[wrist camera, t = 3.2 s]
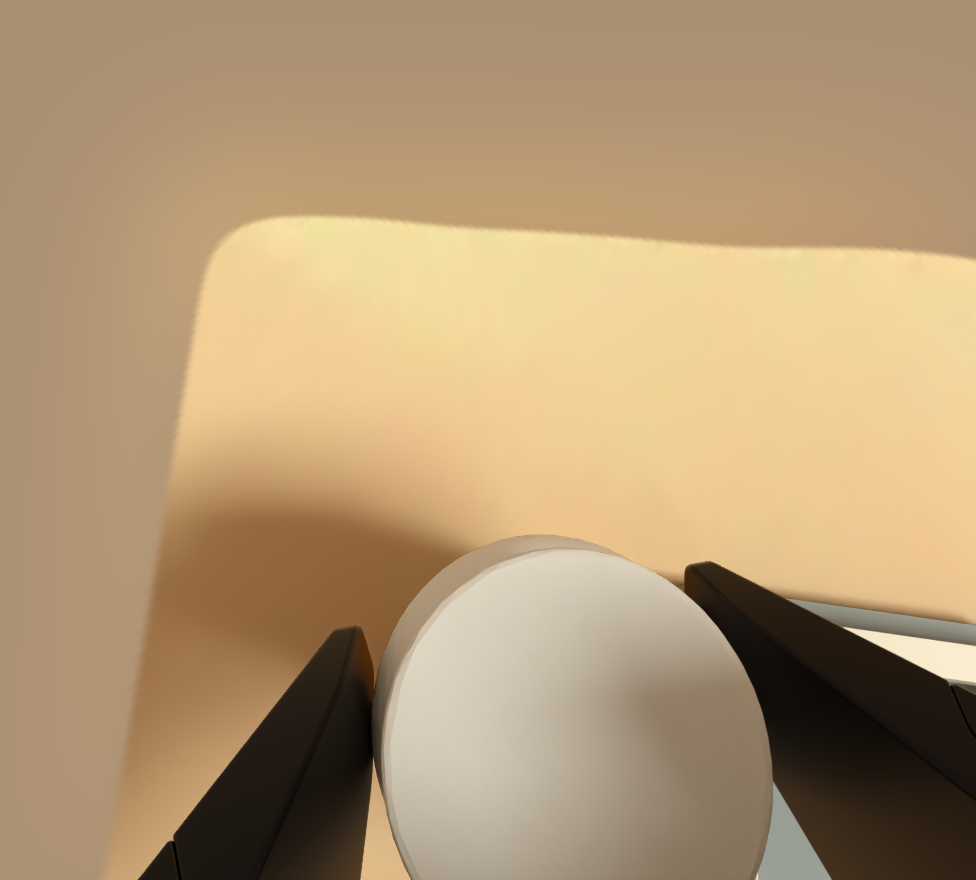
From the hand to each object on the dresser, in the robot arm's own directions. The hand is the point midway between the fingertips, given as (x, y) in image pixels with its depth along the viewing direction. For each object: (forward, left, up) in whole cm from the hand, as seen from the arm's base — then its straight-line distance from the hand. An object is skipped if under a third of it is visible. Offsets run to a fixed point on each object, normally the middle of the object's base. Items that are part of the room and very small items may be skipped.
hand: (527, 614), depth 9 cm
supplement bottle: (-1, 0, -7) cm, 7 cm away
